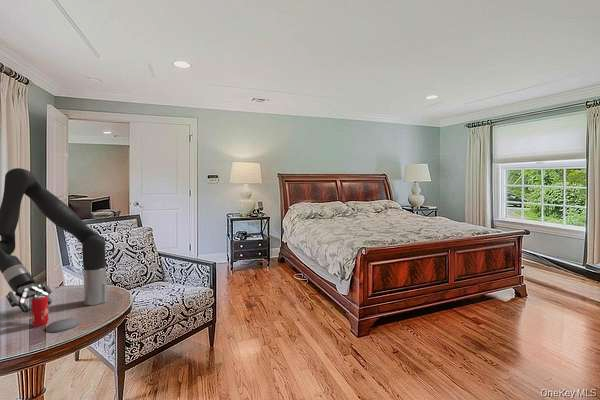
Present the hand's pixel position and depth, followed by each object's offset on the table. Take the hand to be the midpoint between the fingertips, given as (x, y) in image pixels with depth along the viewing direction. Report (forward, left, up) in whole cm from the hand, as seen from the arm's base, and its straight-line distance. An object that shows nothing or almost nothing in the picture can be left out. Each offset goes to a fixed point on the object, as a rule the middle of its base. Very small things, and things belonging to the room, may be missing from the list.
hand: (38, 307), depth 129 cm
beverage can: (0, 0, -7) cm, 7 cm away
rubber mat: (-9, +5, -7) cm, 13 cm away
